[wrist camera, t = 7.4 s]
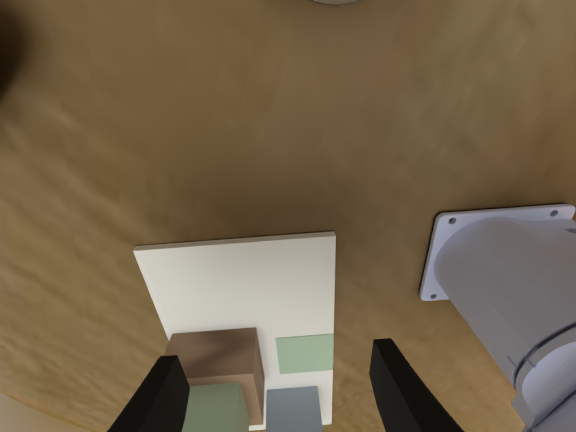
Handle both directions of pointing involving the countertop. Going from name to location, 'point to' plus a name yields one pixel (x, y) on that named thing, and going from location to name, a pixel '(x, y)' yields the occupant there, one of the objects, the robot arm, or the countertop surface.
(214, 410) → the sage cube
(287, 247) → the white rectangular board
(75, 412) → the countertop surface
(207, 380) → the walnut base
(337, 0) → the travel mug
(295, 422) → the slate cube
